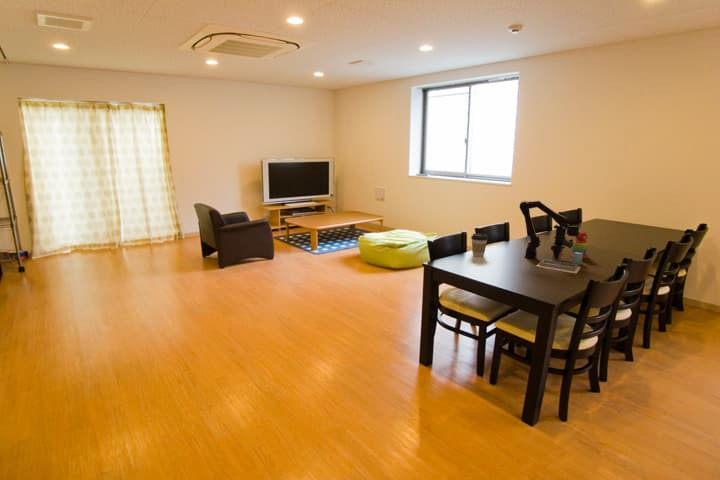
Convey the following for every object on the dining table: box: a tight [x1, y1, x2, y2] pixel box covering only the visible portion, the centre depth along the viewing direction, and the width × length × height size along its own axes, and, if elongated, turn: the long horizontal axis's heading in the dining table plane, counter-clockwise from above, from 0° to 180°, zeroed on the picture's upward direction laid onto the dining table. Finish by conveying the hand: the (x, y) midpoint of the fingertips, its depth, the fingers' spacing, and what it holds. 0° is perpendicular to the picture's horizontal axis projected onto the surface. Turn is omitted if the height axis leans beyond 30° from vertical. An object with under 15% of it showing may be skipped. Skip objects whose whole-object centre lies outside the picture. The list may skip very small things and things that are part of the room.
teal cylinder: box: [572, 252, 583, 266], centre depth 263 cm, size 5×5×7 cm
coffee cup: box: [470, 232, 489, 258], centre depth 279 cm, size 11×11×15 cm
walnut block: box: [552, 249, 564, 262], centre depth 270 cm, size 5×5×7 cm
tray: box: [536, 258, 581, 274], centre depth 256 cm, size 23×14×2 cm, turn 53°
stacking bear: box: [570, 230, 590, 260], centre depth 277 cm, size 11×10×18 cm
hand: (557, 257), depth 271 cm, fingers closed on walnut block, 5 cm apart
